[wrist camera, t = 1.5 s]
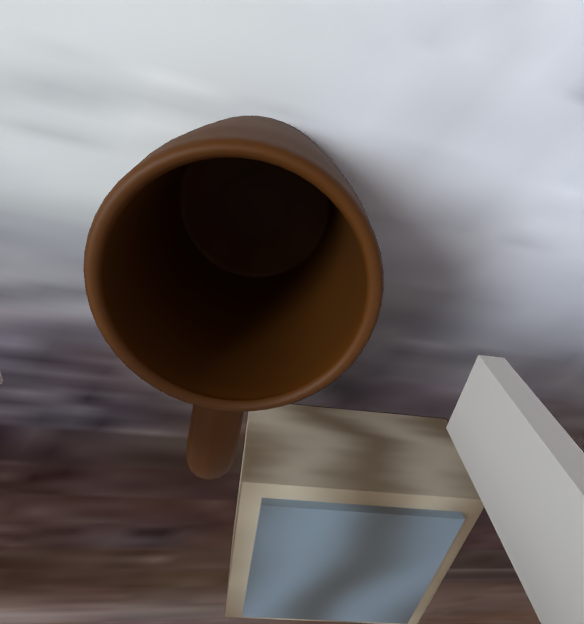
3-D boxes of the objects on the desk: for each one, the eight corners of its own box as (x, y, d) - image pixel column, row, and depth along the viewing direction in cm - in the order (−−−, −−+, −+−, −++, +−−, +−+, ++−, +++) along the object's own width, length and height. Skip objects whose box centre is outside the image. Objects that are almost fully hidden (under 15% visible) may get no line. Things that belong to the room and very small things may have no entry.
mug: (297, 365, 22) (309, 525, 14) (158, 343, 21) (83, 500, 13) (360, 136, 17) (439, 176, 9) (176, 93, 16) (65, 89, 8)
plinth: (233, 528, 29) (223, 624, 24) (250, 400, 23) (241, 489, 18) (393, 538, 30) (418, 632, 25) (446, 418, 24) (492, 507, 19)
